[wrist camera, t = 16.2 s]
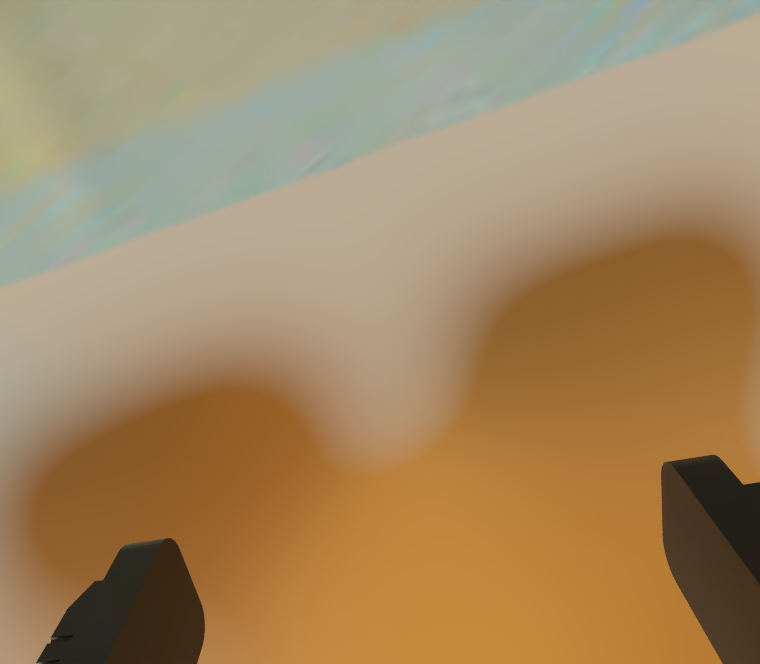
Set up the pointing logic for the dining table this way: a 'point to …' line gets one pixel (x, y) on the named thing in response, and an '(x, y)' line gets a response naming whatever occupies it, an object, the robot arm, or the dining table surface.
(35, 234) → the dining table surface
